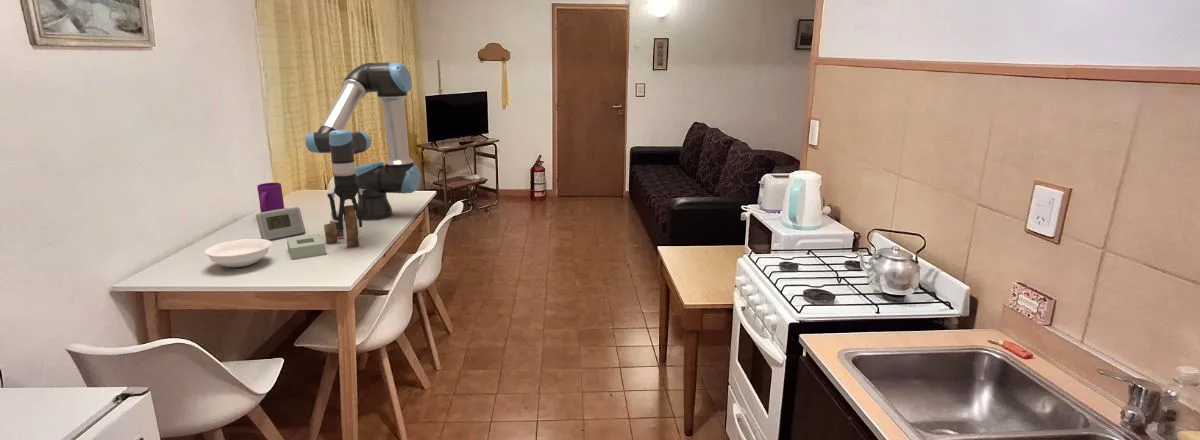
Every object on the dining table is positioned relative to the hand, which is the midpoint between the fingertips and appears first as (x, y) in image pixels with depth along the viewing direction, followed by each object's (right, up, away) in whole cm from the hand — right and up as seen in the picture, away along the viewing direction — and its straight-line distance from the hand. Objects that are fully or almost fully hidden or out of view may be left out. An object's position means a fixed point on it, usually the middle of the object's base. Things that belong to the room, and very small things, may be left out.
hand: (352, 236), depth 234 cm
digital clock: (-32, -1, +14) cm, 35 cm away
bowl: (-30, -9, -18) cm, 37 cm away
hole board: (-14, -5, -5) cm, 16 cm away
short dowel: (-10, -2, +6) cm, 11 cm away
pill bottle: (-10, -1, +13) cm, 16 cm away
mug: (-50, +6, +39) cm, 63 cm away
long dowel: (0, -4, +1) cm, 4 cm away
